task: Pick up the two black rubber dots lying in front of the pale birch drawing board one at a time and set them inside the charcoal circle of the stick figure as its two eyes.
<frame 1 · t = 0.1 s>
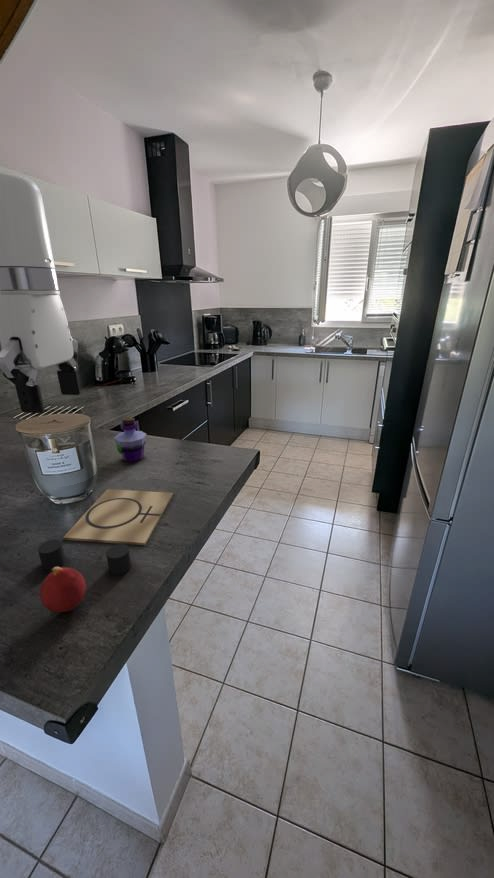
hand: (54, 402, 56), 27 cm above the counter, tool pointing down, fingers open, 9 cm apart
board: (123, 515, 75), on the counter
onion: (68, 610, 53), on the counter
dot1: (54, 562, 62), on the counter
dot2: (120, 567, 61), on the counter
potion bottle: (133, 459, 101), on the counter
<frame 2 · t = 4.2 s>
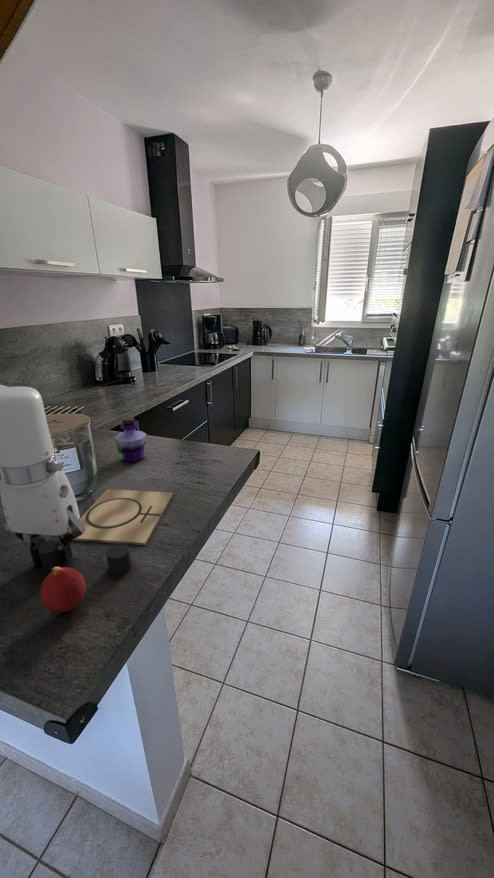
hand: (53, 561, 62), 0 cm above the counter, tool pointing down, fingers closed on dot1, 3 cm apart
dot1: (54, 562, 62), on the counter, touching gripper
everything else where it was.
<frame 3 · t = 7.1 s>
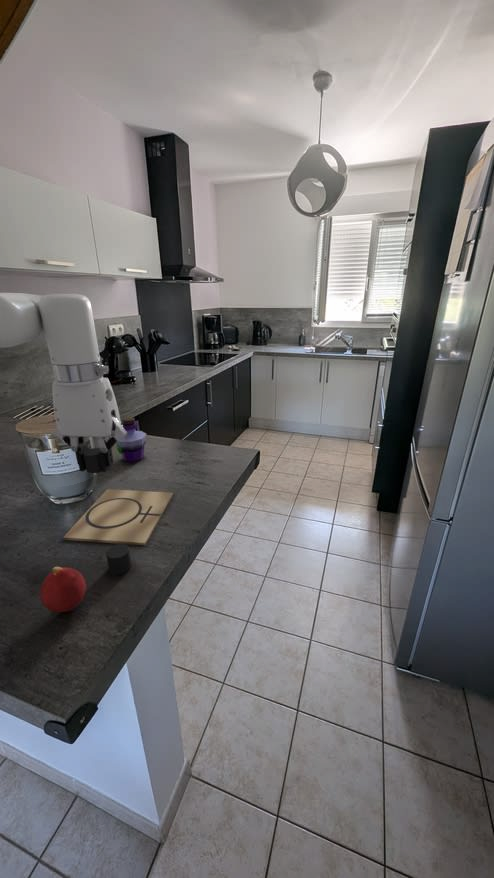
hand: (96, 467, 67), 13 cm above the counter, tool pointing down, fingers closed on dot1, 3 cm apart
dot1: (96, 468, 67), point 12 cm above the counter, touching gripper
everything else where it was.
when the fingers open (1 cm above the counter, at t = 10.1 s): dot1 stays where it is, resting on board.
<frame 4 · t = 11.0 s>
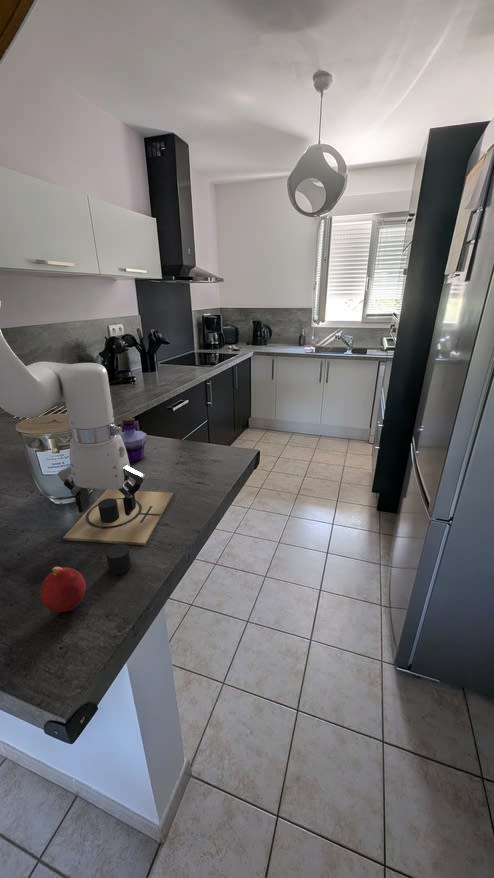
hand: (107, 510, 72), 3 cm above the counter, tool pointing down, fingers open, 9 cm apart
dot1: (110, 517, 73), point 1 cm above the counter, touching board
everything else where it was.
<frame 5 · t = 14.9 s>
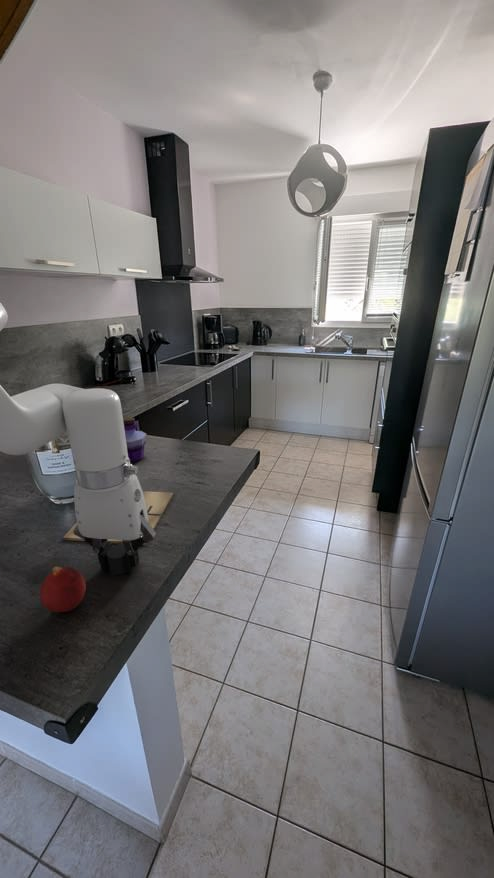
hand: (120, 566, 60), 0 cm above the counter, tool pointing down, fingers closed on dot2, 3 cm apart
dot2: (120, 567, 61), on the counter, touching gripper
everything else where it was.
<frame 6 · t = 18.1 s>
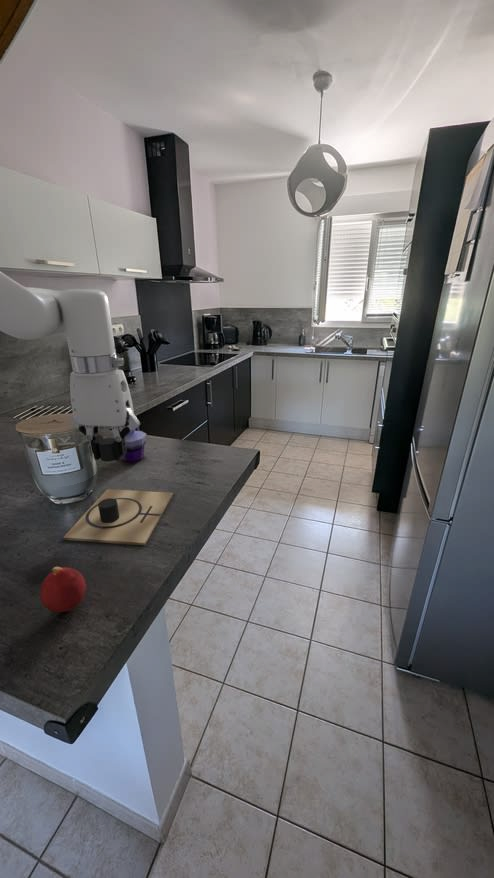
hand: (110, 456, 70), 13 cm above the counter, tool pointing down, fingers closed on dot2, 3 cm apart
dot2: (110, 457, 70), point 13 cm above the counter, touching gripper
everything else where it was.
when the fingers open (1 cm above the counter, at t = 21.3 s): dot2 stays where it is, resting on board.
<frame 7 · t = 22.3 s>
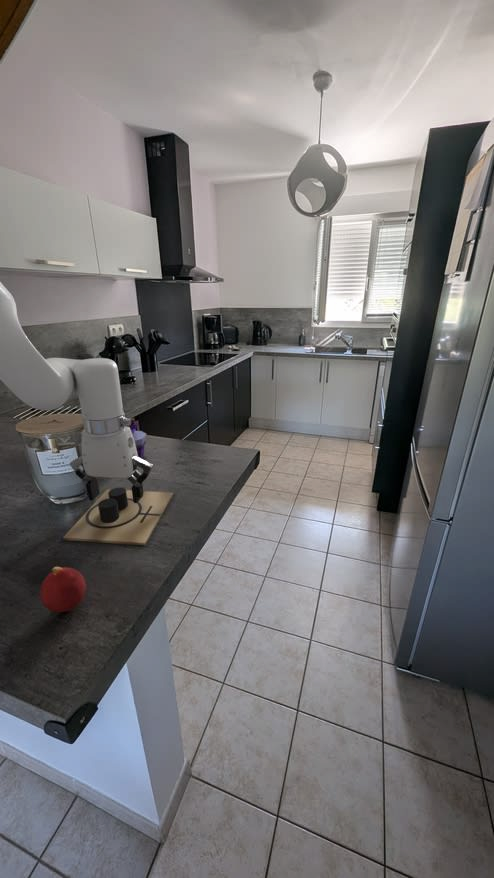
hand: (116, 498, 76), 3 cm above the counter, tool pointing down, fingers open, 9 cm apart
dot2: (119, 506, 77), point 1 cm above the counter, touching board
everything else where it was.
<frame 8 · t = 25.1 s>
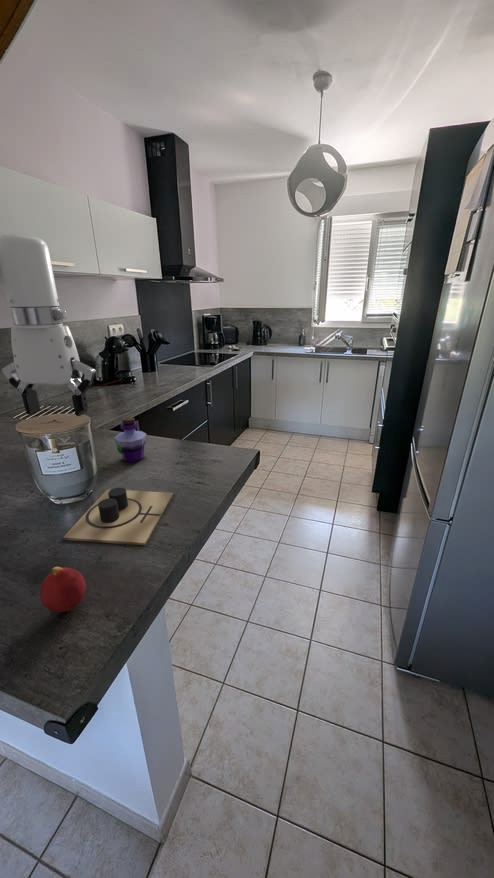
hand: (57, 413, 67), 22 cm above the counter, tool pointing down, fingers open, 9 cm apart
nothing on the counter moved.
at the end: dot1 0.1 cm from the target spot on the board, point 0.7 cm above the board's base; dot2 0.2 cm from the target spot on the board, point 0.7 cm above the board's base; the gripper is holding nothing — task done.
